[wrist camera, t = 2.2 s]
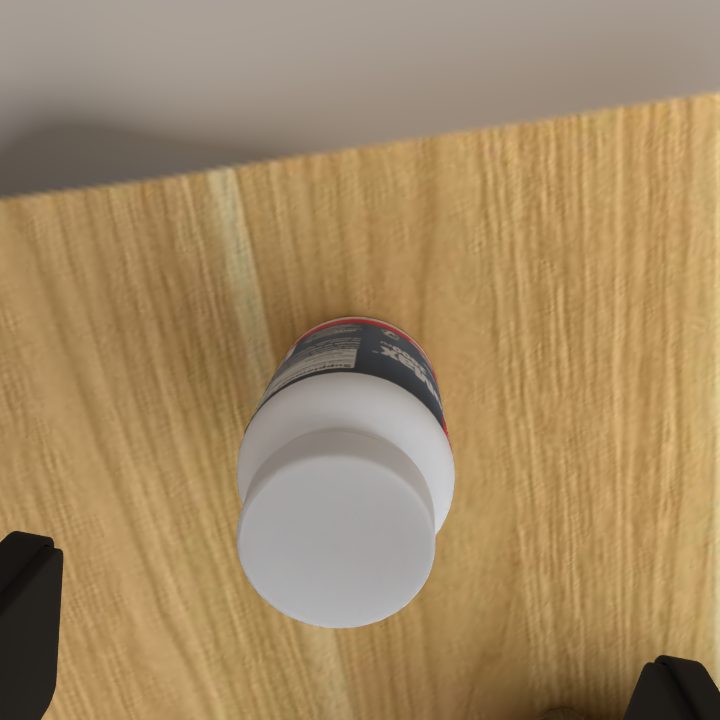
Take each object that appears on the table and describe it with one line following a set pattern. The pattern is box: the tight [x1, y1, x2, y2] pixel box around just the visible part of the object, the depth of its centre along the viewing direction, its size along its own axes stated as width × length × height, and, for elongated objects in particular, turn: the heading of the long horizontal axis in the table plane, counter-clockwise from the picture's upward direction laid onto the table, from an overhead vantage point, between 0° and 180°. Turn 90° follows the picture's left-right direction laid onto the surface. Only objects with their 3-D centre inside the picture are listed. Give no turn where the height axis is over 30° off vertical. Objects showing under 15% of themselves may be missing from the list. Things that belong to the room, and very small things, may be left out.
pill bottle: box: [237, 317, 455, 628], centre depth 17 cm, size 5×5×9 cm
